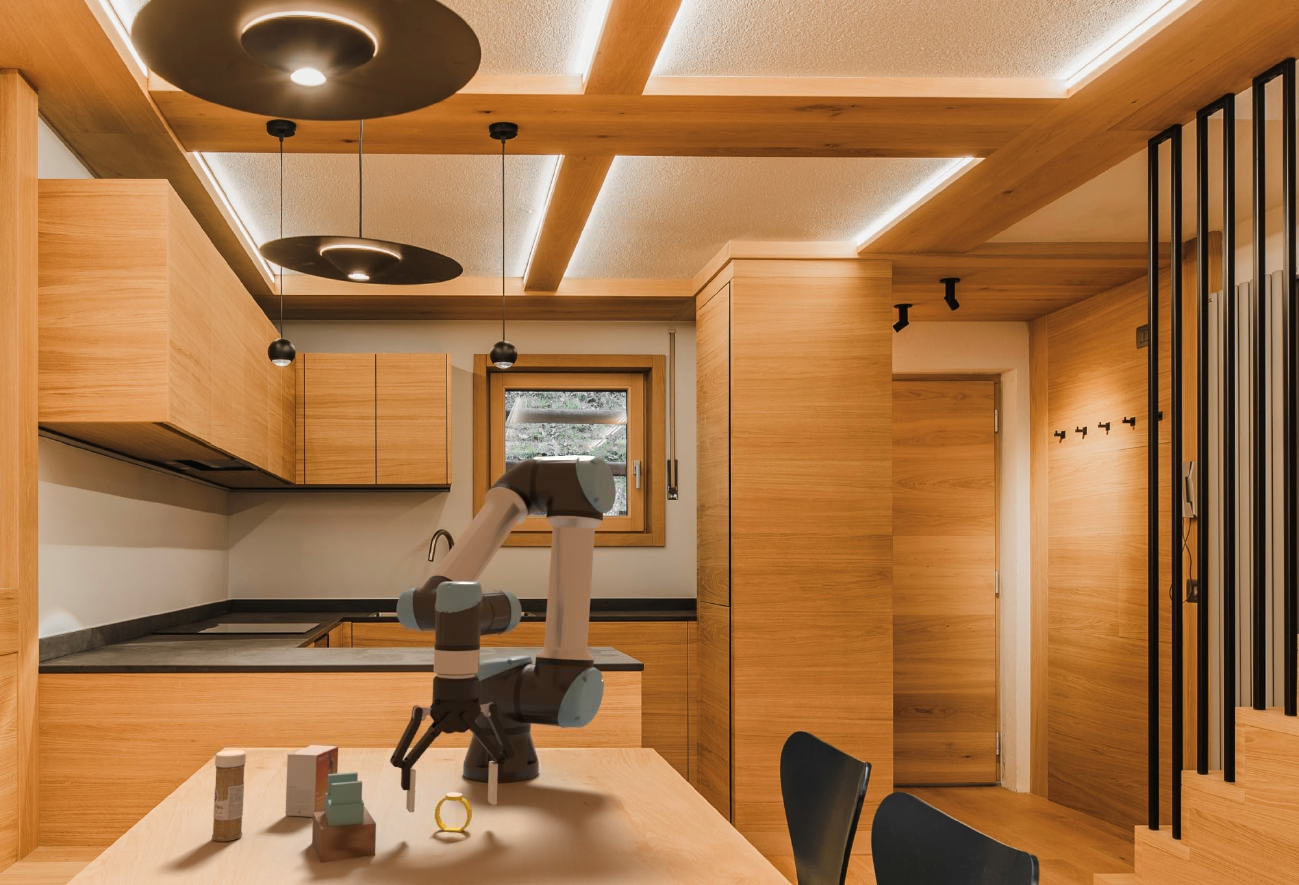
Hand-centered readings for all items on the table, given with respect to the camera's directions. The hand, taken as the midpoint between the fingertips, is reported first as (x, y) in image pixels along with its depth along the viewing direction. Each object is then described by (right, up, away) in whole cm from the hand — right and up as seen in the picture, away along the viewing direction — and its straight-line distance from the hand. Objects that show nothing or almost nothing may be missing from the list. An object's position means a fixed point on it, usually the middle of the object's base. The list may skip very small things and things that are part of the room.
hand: (451, 806), depth 167 cm
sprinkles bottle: (-35, -4, -5) cm, 35 cm away
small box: (-27, -5, +11) cm, 29 cm away
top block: (-15, +2, -9) cm, 18 cm away
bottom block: (-15, -3, -10) cm, 18 cm away
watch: (0, -4, 0) cm, 4 cm away
